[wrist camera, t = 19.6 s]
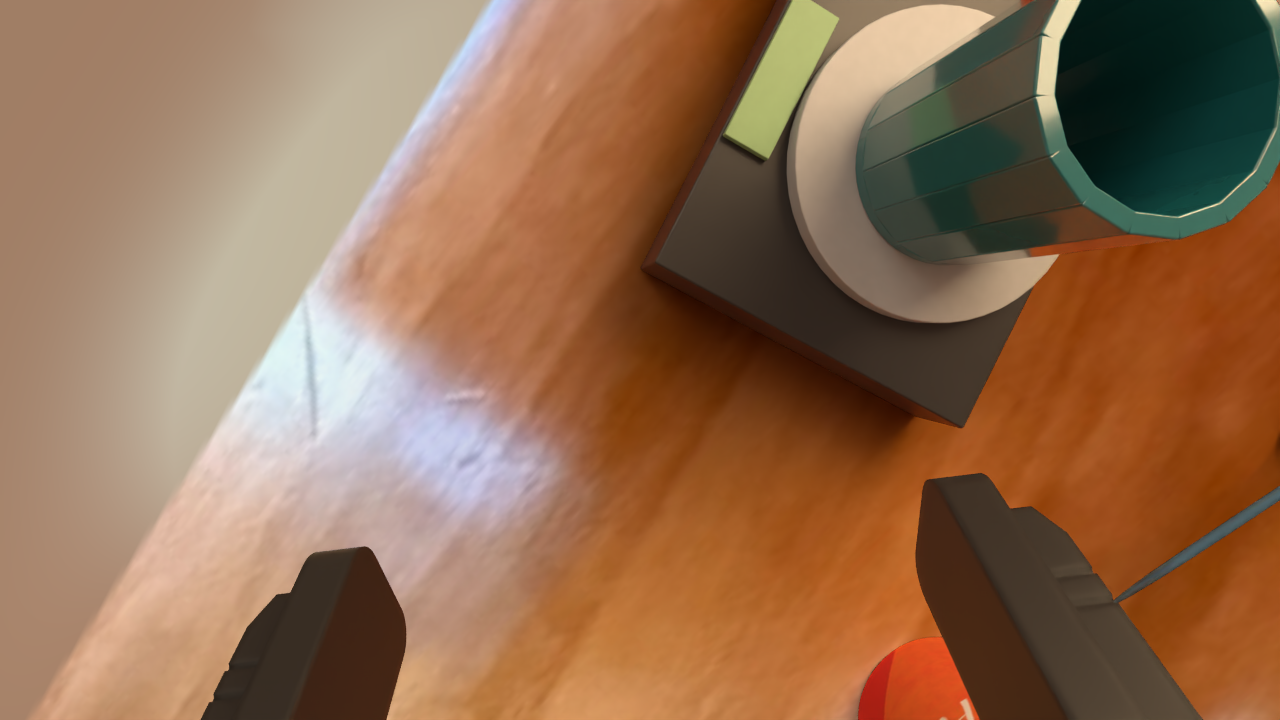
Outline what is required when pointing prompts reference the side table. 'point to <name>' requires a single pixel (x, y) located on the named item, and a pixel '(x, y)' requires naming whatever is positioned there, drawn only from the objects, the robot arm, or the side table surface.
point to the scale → (836, 213)
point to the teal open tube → (1077, 130)
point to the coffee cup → (916, 686)
